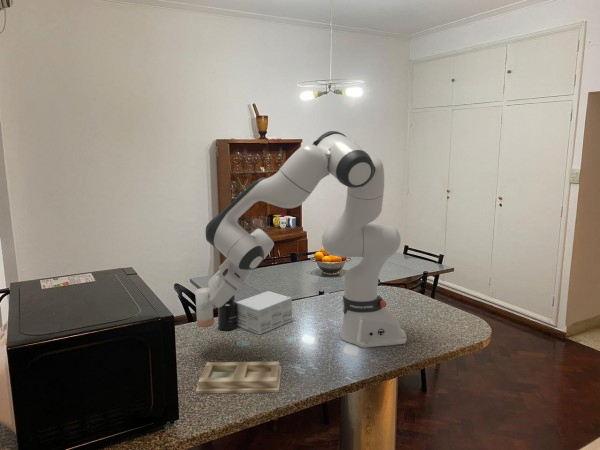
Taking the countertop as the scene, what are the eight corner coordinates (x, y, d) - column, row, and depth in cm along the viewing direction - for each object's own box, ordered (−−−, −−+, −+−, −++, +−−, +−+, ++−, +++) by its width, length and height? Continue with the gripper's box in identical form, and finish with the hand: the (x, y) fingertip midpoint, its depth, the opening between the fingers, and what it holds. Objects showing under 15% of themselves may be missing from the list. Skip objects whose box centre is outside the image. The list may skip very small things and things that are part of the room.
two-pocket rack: (281, 368, 130) (281, 359, 129) (278, 392, 117) (278, 382, 116) (206, 369, 130) (206, 360, 129) (195, 393, 117) (195, 383, 117)
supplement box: (268, 313, 175) (268, 290, 173) (292, 321, 166) (292, 297, 164) (235, 325, 162) (234, 301, 161) (259, 335, 154) (258, 309, 152)
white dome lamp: (215, 320, 141) (213, 287, 139) (211, 327, 136) (210, 293, 134) (199, 320, 141) (197, 287, 139) (195, 327, 136) (192, 293, 134)
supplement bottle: (234, 331, 157) (234, 298, 156) (215, 330, 158) (215, 297, 156) (239, 324, 164) (239, 293, 162) (221, 323, 165) (221, 292, 163)
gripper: (222, 258, 147) (194, 289, 146) (227, 275, 127) (195, 311, 127) (236, 270, 148) (208, 301, 148) (244, 288, 129) (211, 324, 128)
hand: (202, 306), depth 137 cm, fingers closed on white dome lamp, 5 cm apart
